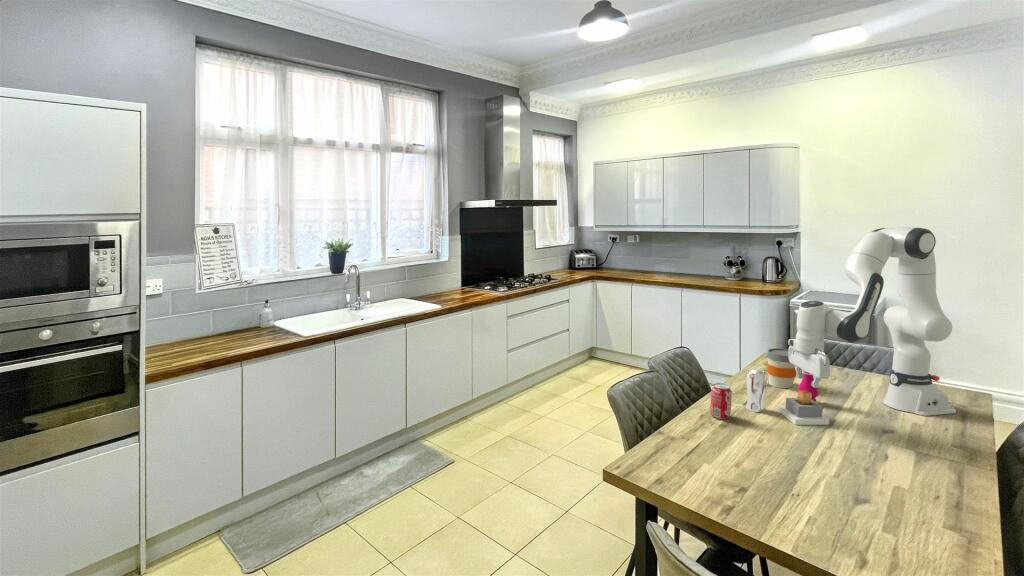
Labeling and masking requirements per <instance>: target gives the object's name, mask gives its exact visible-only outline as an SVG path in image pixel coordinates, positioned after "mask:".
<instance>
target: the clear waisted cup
mask: <svg viewBox="0 0 1024 576" xmlns="http://www.w3.org/2000/svg"><path fill="white" fill-rule="evenodd" d="M767 374H768V372H766V371H764V370H761V369H755V368H754V369H752V368H751V369H748V370H747V374H746V381H745V382H746V383H745V387H746V392H747V393H746V394H747V401H746V405H745V409H746V410H748V411H750V412H752V413H754V412H755V413H762V412H764V403H763V402H764V397H765V393H766V390H767V382H768V380H767V379H768V378H767Z"/></svg>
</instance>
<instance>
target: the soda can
mask: <svg viewBox="0 0 1024 576" xmlns="http://www.w3.org/2000/svg"><path fill="white" fill-rule="evenodd" d="M710 390H711V391H710V411H709V412H710V415H711V416H713V418H715V419H718V420H726V419H728V418H730V417H731V413H732V412H731V410H732V396H733V395H732V390H731V386H730V385H729V384H727V383H721V382H720V383H719V382H717V383H716V382H715V383H714V384H713V386H712V387H711V389H710Z"/></svg>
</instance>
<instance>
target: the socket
mask: <svg viewBox="0 0 1024 576" xmlns="http://www.w3.org/2000/svg"><path fill="white" fill-rule="evenodd" d="M797 398H798V397H785V405H778V406H777V407H778V408H777V412H778V413H780V414H781V415H782V416H783V417H785V419H788V421H790V422H791V423H793V424H794V425H795V426H797V425H798V426H800V425H801V426H802V425H807V426H808V425H810V426H812V425H813V426H814V425H816V426H818V425H821V426H824V425H826V426H827V425H830V418H828V417H827V416H826V415H824V414H823V409H824V406H823V405H821V404H820V403H818V402H817V401H816V402H815V401H813V400H811V405H800V404H799V403H797Z"/></svg>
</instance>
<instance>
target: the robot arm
mask: <svg viewBox="0 0 1024 576" xmlns="http://www.w3.org/2000/svg"><path fill="white" fill-rule="evenodd" d="M936 243H937V240H936V237H935V234H934V233H933V232H932V231H931V230H930V229H928V228H925V227H924V228H922V227H907V226H898V227H888V228H885V227H881V228H876V229H874V230H872V231H870V232H867V233H866V234H865V235H864V236H863V237H862V238H861V239H860V240H859V241H858V243H856V245H855V246H854V248H853V249H852V251H851V253H850V254H849V255H848V258H847V259H846V262H845V263H844V272H845V275H846V276H847V277H848V279H849V280H851V282H853V283H855V284H856V285H858V286H860V288H861V290H860V293H859V296H858V299H857V302H856V304H855V307H854V309H853V310H852V311H849V312H848V311H843V310H840V309H835V308H832V307H829V306H827V305H825V303H824V302H823V301H820V300H807V301H804V302H801V304H799V307H798V310H797V316H796V328H797V329H796V330H797V332H796V335H795V338H790V339H788V341H787V342H788V346H789V347H788V350H789V352H788V358H789V361H790V363H792V364H794V365H795V369H796V372H797V374H796V377H797V379H803V378H804V377H803V376H804V374H803V373H802V369H803V370H804V371H806V372H808V373H810V374H812V375H813V378H814V381H812V382H811V383H812V384H811V386H813V387H814V388H819V387H820V382H821V381H822V380H823V379H829V378H830V377H831V367H830V365H831V363H830V359H829V358H828V356H827V355H826V353H825V352H824V350H825V349H824V348H825V335H826V336H827V335H828V336H830V337H834V338H838V339H840V340H842V341H845V342H849V343H852V344H853V343H858V342H861V341H862V340H864V339H865V338H866V337H867V336H868V334H869V332H870V330H871V325H872V323H871V322H872V319H873V315H874V313H875V311H876V309H877V305H878V302H879V300H880V298H881V295H882V292H883V288H884V284H885V281H884V277H883V276H882V272H883V269H884V268H885V266H886V264H887V262H888V259H889V258H898V263H897V264H898V265H897V293H898V295H899V297H900V298H902V301H903V303H904V304H905V305H903V304H902V305H899V304H898V305H893V306H890V307H889V308H887V309H886V310H885V312H884V314H883V322H884V324H885V325H886V327H887V328H888V330H889V332H890V338H891V340H892V345H893V355H892V356H893V358H892V366H891V367H890V371H889V384H888V388H887V391H886V394H885V396H884V399H883V400H882V403H883V404H884V405H886V406H887V407H890V408H891V409H895V410H898V411H902V412H907V413H912V414H916V415H919V416H923V417H925V416H926V417H927V416H928V417H929V416H939V415H940V416H941V415H950V414H956V413H957V410H956V408H954V407H953V406H952V405H950V404H949V397H948V394H946V393H945V392H944V391H943V390H942V389H940V387H938V386H937V385H936V384H934V383H933V381H935V382H939V381H940V380H941V379H940V376H939V375H936V374H931V373H930V365H931V358H932V356H931V355H932V354H931V352H930V351H929V349H928V348H927V346H926V344H925V341H926V342H937V343H939V342H942V341H945V340H947V339H948V338H949V337H950V336H951V334H952V332H953V324H952V322H951V320H950V319H949V318H948V317H947V316H946V315H945V313H944V311H943V309H942V307H941V305H940V302H939V298H938V294H937V266H936V265H937V264H936V256H935V253H934V249H935V247H936Z"/></svg>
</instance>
